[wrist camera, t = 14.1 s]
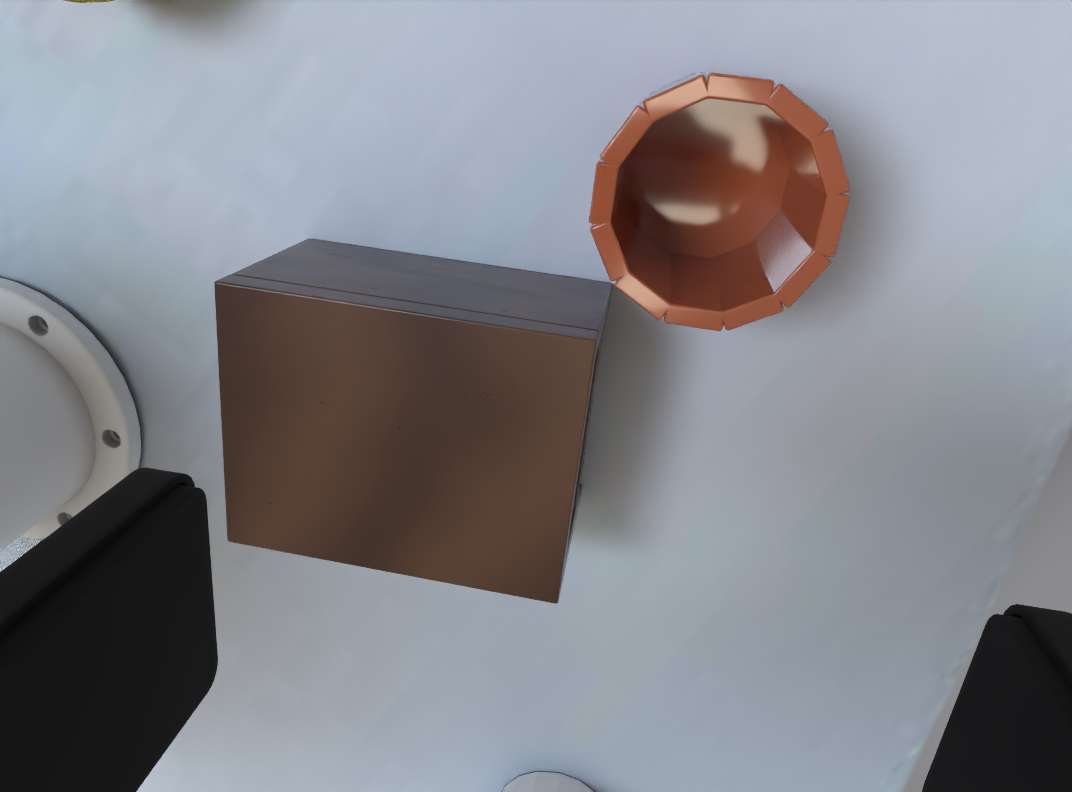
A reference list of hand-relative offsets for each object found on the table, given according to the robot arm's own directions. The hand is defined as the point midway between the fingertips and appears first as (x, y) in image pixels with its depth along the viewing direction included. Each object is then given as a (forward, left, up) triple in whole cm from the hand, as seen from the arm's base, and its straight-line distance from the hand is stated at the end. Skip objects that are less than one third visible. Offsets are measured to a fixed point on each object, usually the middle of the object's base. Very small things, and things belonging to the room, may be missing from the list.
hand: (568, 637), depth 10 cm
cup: (+2, +3, -22) cm, 22 cm away
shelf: (-7, -6, -22) cm, 23 cm away
